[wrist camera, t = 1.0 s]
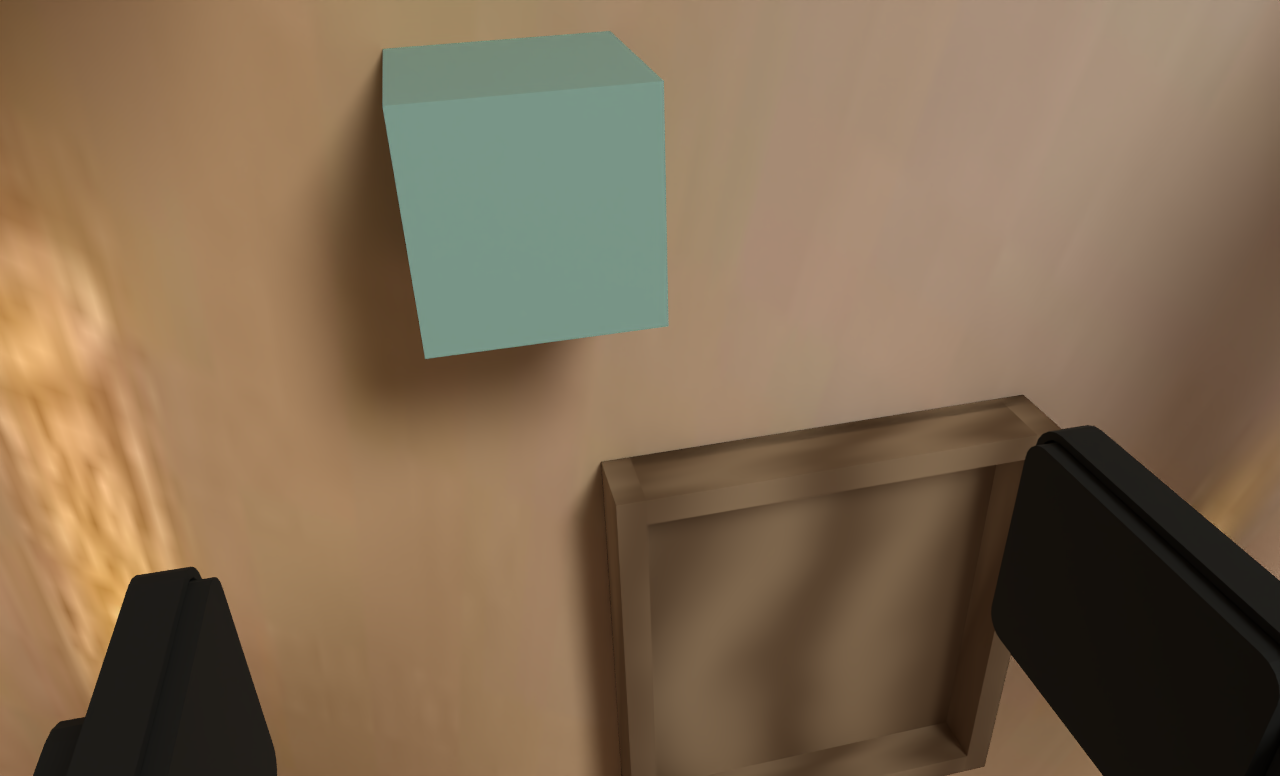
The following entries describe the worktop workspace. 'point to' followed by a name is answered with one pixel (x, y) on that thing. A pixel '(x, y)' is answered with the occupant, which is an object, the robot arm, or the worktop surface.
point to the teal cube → (529, 189)
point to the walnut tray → (816, 596)
